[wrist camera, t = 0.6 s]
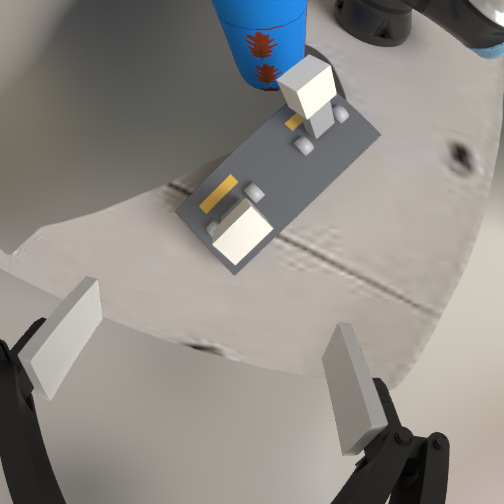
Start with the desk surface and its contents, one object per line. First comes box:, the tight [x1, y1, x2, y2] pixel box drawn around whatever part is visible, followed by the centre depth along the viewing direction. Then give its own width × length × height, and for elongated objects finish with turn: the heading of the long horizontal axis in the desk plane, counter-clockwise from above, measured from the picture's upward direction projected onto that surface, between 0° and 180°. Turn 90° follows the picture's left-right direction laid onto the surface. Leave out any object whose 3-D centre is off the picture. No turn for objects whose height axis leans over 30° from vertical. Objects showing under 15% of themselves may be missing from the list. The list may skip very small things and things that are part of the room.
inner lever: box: [277, 55, 336, 139], centre depth 29 cm, size 5×3×11 cm, turn 134°
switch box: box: [175, 92, 381, 276], centre depth 38 cm, size 28×12×7 cm, turn 134°
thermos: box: [212, 0, 307, 91], centre depth 28 cm, size 11×11×25 cm
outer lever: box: [212, 198, 273, 265], centre depth 31 cm, size 5×3×11 cm, turn 134°
